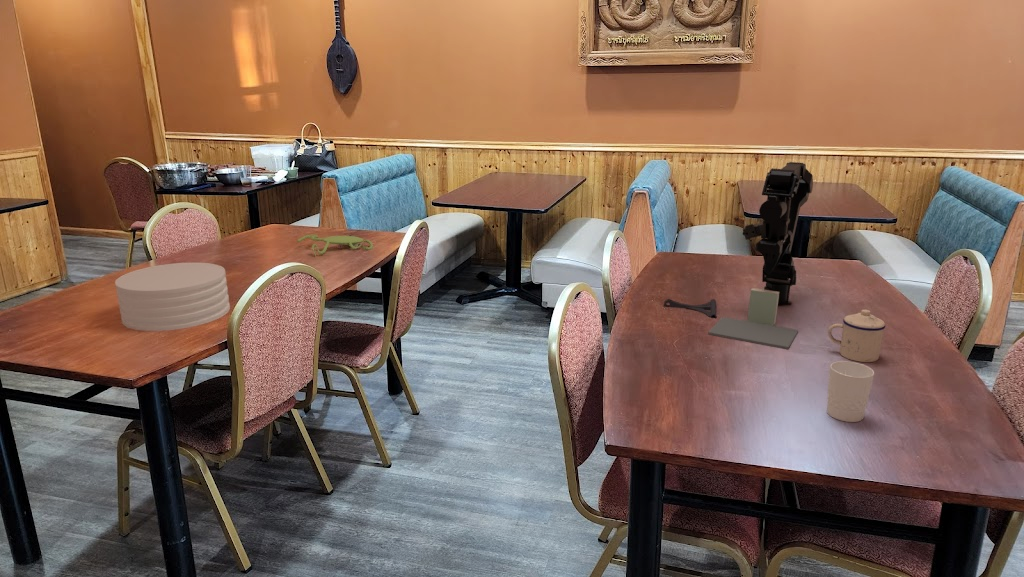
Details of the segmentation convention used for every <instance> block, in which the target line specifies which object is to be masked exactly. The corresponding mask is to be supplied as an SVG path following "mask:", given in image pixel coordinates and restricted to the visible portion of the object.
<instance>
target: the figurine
mask: <svg viewBox="0 0 1024 577" xmlns="http://www.w3.org/2000/svg"><path fill="white" fill-rule="evenodd" d="M309 238H310V239H311V241H313V242H324V243H325V244H324V247H323V249H322V250H321V251H320V250H319V247H318V245H317V244H316V243H314V244H312V246H311V248H312V252H313V254H314V257H317V255H316V252H315V248H316V249H317V252H318V254H319V255H323V254H325V253H327V252H326V251H327V249H328V247H329V246H330V244H331V245H338V246H337V247H336V249H340V248H342V247H343V246H344V245H347V246H348V247H349V248H350V249H353V250H356V249H358V248H360V247H361V246H362V248H363V250H364V251H370V250H372V249H373V248H374V245H373V242H372V241H371V240H369V239H365V240H364V238H362V237H359V236H355V235H351V234H350V235H332V236H331V235H330V236H326V237H319V235H318V234H306V235H304V236H302V237H299V238H298V239H297V240H296V242H297V243H300V242H302V241H304V240H306V239H309ZM364 243H367V244H369V247H368V246H365V245H363V244H364Z"/></svg>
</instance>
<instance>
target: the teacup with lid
mask: <svg viewBox="0 0 1024 577" xmlns="http://www.w3.org/2000/svg"><path fill="white" fill-rule="evenodd" d="M842 322H843V324H842V323H834V324H832V325H830V326H829V328H828V329H827V330H828V332H827V334H828V338H829V339H830V340H831V341H832V342H833V343H835V344H837V345H840V346H839V354H840V355H841V356H842V357H844V358H845V359H848V360H851V361H853V362H858V363H860V362H861V363H872V362H876V361H878V360H879V358H880V352H881V346H882V341H883V335H884V331H885V330H884V329H885V328H886V323H885V322H884V320H882V319H881V318H878V317H876V316H875V315H873V314H871V310H869V309H861V311H860V312H857V313H854V314H847V315H846V316H844V318H843V319H842ZM835 328H841V329H842V333H841V339H840V340H839V339H836V338H835V337H834V336H833V334H832V330H833V329H835Z"/></svg>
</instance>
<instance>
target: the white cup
mask: <svg viewBox="0 0 1024 577" xmlns="http://www.w3.org/2000/svg"><path fill="white" fill-rule="evenodd" d="M829 365H830V366H829V376H828V384H827V385H828V386H827V387H828V388H827V398H826V399H827V405H826V413H827V414H828V415H829V416H830V417H832V418H834V419H836V420H838V421H842V422H848V423H857V422H860V421H862V420H863V419H864V418H865V412H866V409H867V408H866V407H867V405H868V402H869V398H870V394H871V391H872V385H873V381H874V376H875V371H874V370H873V368H871V367H870V366H868V365H866V364H862V363H860V362H856V361H849V360H848V361H846V360H839V361H834V362H832V363H830V364H829Z"/></svg>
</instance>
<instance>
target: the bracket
mask: <svg viewBox="0 0 1024 577" xmlns="http://www.w3.org/2000/svg"><path fill="white" fill-rule="evenodd" d="M668 304H669V305H668ZM663 306H664V307H667V308H676V309H677V308H678V309H689V310H692V311H697V312H698V313H699V312H700V313H702V314H703V315H706V316H707V317H709V318H712V317H713V316H714V319H717V314H718V313H717V300H716V299H714V298H712V299H711V300H710V301H708V302H705V303H703V304H694V305H693V304H687V303H683V302H679V301H677V300H672V299H669V298H668V299H665V301H664V303H663Z"/></svg>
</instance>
